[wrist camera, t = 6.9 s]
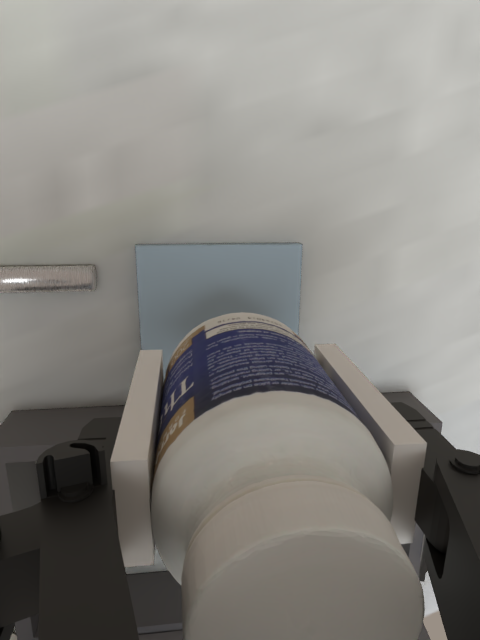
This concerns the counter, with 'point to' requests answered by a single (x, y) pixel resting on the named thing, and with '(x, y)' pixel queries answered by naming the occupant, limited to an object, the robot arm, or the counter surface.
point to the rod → (47, 279)
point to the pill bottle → (274, 495)
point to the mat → (213, 287)
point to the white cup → (13, 637)
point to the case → (145, 589)
